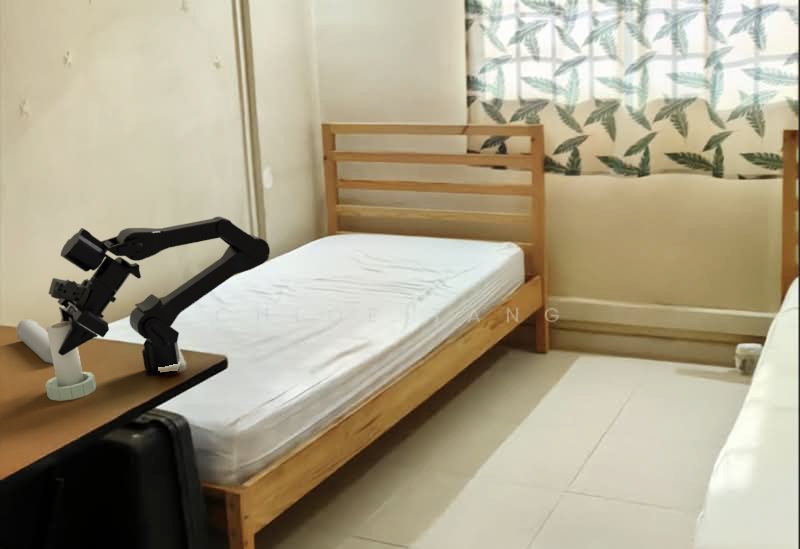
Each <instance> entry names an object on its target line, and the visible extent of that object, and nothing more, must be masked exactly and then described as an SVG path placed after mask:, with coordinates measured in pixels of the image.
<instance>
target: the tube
mask: <svg viewBox="0 0 800 549" xmlns="http://www.w3.org/2000/svg"><path fill="white" fill-rule="evenodd" d="M15 332H16V338H17V339H18V340H21V341H22V342H23V343H24V344H25V345H26V346H27V347H28V348H29V349H31V351H33V352H34V353H35V354H36V355H37V356H38V357H39V358H41V360H43V362H45V363H48V364H51V365H54V364H53V359H52V354H51V349H50V343H49V338H48V333H47V330H45V328H43V327H42V326H41V325H39V323H38V321H35V320H33V319H30V318H28V319H24V320H20V321H19V322H18V324H17V327H16V328H15Z"/></svg>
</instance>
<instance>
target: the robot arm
mask: <svg viewBox="0 0 800 549" xmlns="http://www.w3.org/2000/svg"><path fill="white" fill-rule="evenodd" d="M219 238H220V239H221V240H222V241H223V242H224V243H226V244H227V245H228V247H227V248H226V250H225V252H224V253H223V254H222V256H221V257H220V258H218V259H217V260H216V261H214V262H213V263H212V264H210V265H209V266H208V267H207V266H206V268H205V269H203V270H202V271H200V272H199V273H197V274H196V275H194V276H192V278H190V279H189V280H187V281H186V282H184V283H183V284H182V285H180V286H178V287H177V288H175V289H174V290H173V291H171V292H170V293H168V294H167V295H165V296H162V297H159V298H158V297H157V296H156V295H154V294H153V293H151V294H149V295H147V297H146V298H145V299H144V300H143V301H141V302H138V303H135V304H134V306H135V308H134V309H133V310H131V313H130V317H129V325H130V327H131V328H132V330H133V331H135V332H136V333H137V334H138V335H139V336H140V337H141V338H143V339H145V340H144V342H143V349H142V351H141V353H142V360H143V365H144V367H143V368H144V369H145V375H149V376H150V375H158V374H161V373H160V371H158V367H165V366H169V365H173V364H178V362H179V359H181V358H180V352H179V346H178V345H179V344H178V340H179V335H180V332H178V330H176V329H175V328H173V327H172V325H173V324H174V322H175V321H176V319H177V318H178V316H179V315H180V314H181V313H182V312H183V311H185V310H186V309H189V307H191V306H192V305H194V304H195V303H197V302H198V301H199V300H201V299H202V298H204V297H205V296H207V295H208V294H209V293H211V292H212V291H213V290H215V289H216V288H218V287H219V286H221V285H222V284H223V283H225V282H227V281H228V280H229V279H230V278H232V277H234V276H236V275H237V274H241V273H244V272H248V271H251V270H253V269H254V268H257V267H259V266H262V265H264V264H265V263H266V262H267V261H268V259H269V258H270V250H271V249H270V246H269V243H268V242H267V241H266V240H264V238H261V237H258V236H256V235H252V234H248V233H247V232H245V231H244V230H242V229H241V228H240V227H238V226H237V225H236V224H234V223H233V222H232V221H231V220H230V219H227V218H225V217H223V216H214V217H213V218H210V219H204V220H203V219H202V220H198V221H192V222H188V223H183V224H178V225H172V226H168V227H162V228H151V227H127V228H124V229H122V230H120V231H119V233H118V234H117V235H116V236H114V237H111V238H107V239H104V240H102V241H101V240H99V239H98V238H97V237H95V236H94V235H93V234H91V233H90V231H88V230H86V229H85V228H83V227H81V228H80V229H79V231H78V232H76V233H74V235H72V236H71V237H70V238H69V239H68V240H67V241H66V242H65V244H64V245H63V247H62V249H61V250H60V257H61V258H63V259H65V260H66V261H68V262H69V263H71V264H73V265H74V266H75V267H77V268H79V269H80V270H82V271H84V272H86V273H87V272H90V270H91V271H95V272H93V274H92V276H91V277H90V279H88V278H86V279H83V281H82V282H81V283H77V282H76V281H75V280H69V279H66V280H65V279H60V278H54V277H53V278H52V280H51V283H50V287H49V290H48V295H50V296H51V298H54V299H57V303H58V304H59V305H60V306H59V307H58V309H59V312H60V316H61V320H60V322H66V321H69V322H70V330H69V332H68V333H67V335H66V337H65V339H64V341H63V343H62V345H61V347H60V349H59V351H58V353H59V354H60V355H65V354H66V353H68V352H70V351H71V350H73V349H75V348H76V347H78V348H79V347H80V346H81V345H83V344H85V343H86V342H89V341H90V340H92V339H95V338H97V337H98V336H99V337H101V338H104V337H105V336H106V334H107V333H108V332H109V330H110V329H109V322H107V321H106V320H105V319H104V317H105V316H104V314H103V312H104V311H105V310H106V308H107V307H108V306H109V304H110V303H115V301H116V300H117V298H116V297H115V296H116V295H117V293H118V292H119V290H120V289H121V288H122V286H123V285H124V283H125V282H126V281H127V279H128V278H129V276H130V275H131V276H134V277H136V279H141V278H142V275H141V272H140V264H139V263H137V262H138V261H139V262H140V261H143V260H145V259H147V258H151V257H152V256H156V255H157V254H159V253H160V252H162V251H164V250H167V249H170V248H175V247H180V246H184V245H190V244H194V243H200V242H205V241H210V240H211V241H212V240H215V239H219ZM107 252H109V253H111V254H112V255H114V256H116V258H115V259H114V258H113V257H111V256H109V254H107ZM123 257H126V258H128V259H129V260H131V261H136V262H134V263H130V262H128V261H127V260H126V259H124V258H123ZM61 306H62V307H63V306H64V307H63V308H62V307H61Z"/></svg>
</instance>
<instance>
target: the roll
mask: <svg viewBox="0 0 800 549" xmlns="http://www.w3.org/2000/svg"><path fill="white" fill-rule="evenodd" d="M69 330H70V322H69V321H66V322H61V321H59V322H55V323H52V324H49V325H48V326H46V331H47V333H48V338H49V343H50V349H51V354H52V359H53V364H52V365H53V368H54V369H53V370H54V373H55V377H56V380H57V385H58V387H63V386H71V385H75V384H79V383H81V382H83V381H84V378H83V373H82V372H83V369H82V363H81V358H80V352H79V346H78V347H76V348H75V349H73V350H71V351H70V352H68V353H66V354H65V355H60V354H59V353H58V351H59V349H60V347H61V345H62V343H63V341H64V339H65V337H66V335H67V333H68V332H69Z"/></svg>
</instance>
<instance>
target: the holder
mask: <svg viewBox="0 0 800 549" xmlns="http://www.w3.org/2000/svg"><path fill="white" fill-rule="evenodd" d="M82 373H83V378H84V381H83V382H81V383H79V384H75V385H71V386H63V387H58V385H57V380H56V376H54V377H52V378H51V379H50V378H49V379H48V380H47V382H46V383H45V390H46V396H47V397H48V399H50V400H51V401H59V402H61V401H69V400H70V401H71V400H75V399H79V398H82V397H85V396H88V395H90V394H91V393H94V392H95V390H96V389H97V383H96V378H95V375H94V374H93V373H92V372H91V371H82Z"/></svg>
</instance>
